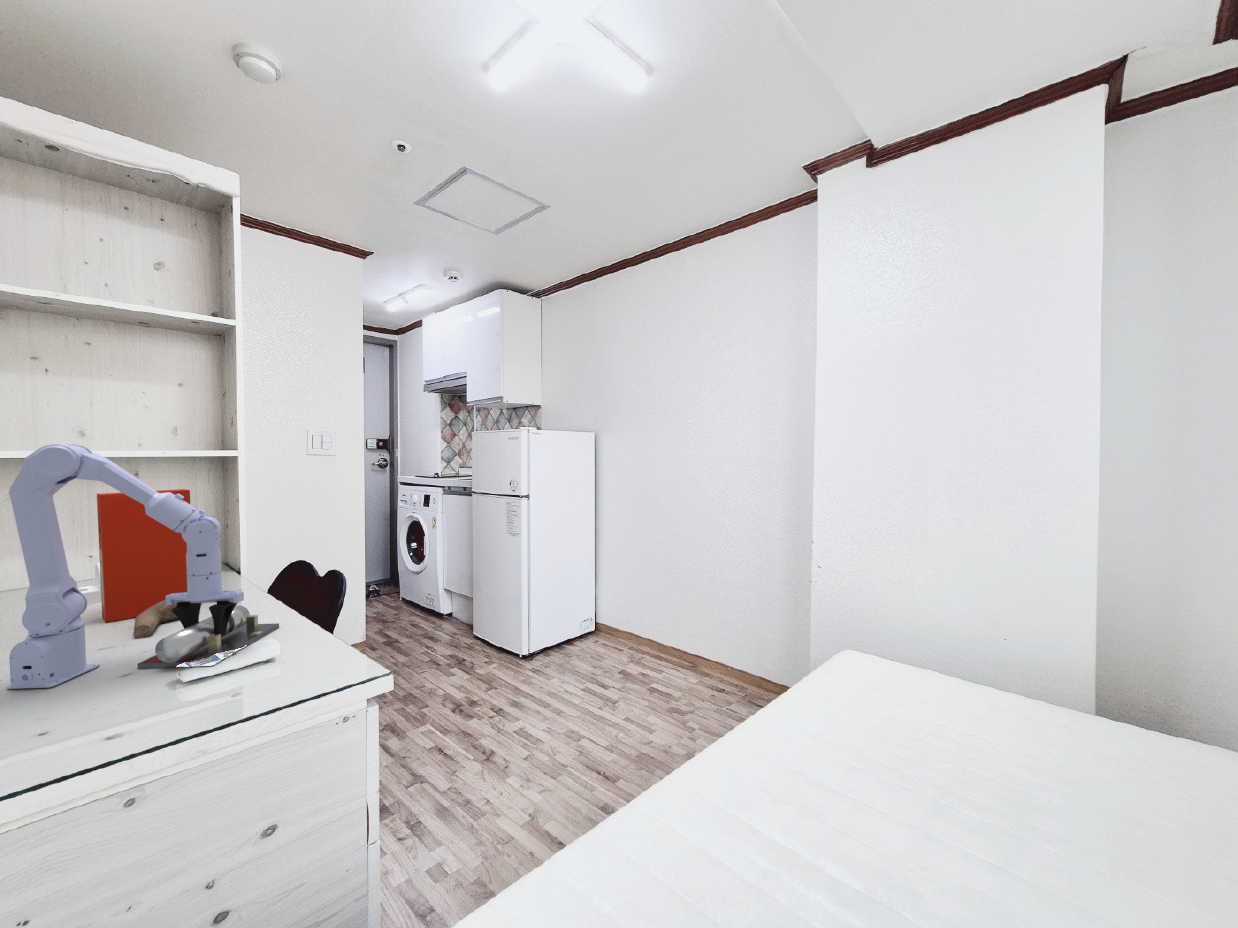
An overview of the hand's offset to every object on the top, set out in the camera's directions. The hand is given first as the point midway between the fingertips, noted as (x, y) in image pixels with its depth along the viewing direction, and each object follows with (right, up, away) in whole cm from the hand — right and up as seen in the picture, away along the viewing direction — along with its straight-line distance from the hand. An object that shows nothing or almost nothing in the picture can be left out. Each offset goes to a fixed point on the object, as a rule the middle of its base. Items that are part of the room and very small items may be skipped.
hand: (206, 636), depth 110 cm
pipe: (-24, -3, +16) cm, 29 cm away
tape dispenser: (-62, -3, +41) cm, 74 cm away
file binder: (-37, -3, +27) cm, 46 cm away
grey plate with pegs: (0, -3, +3) cm, 4 cm away
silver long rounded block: (0, -2, 0) cm, 2 cm away
